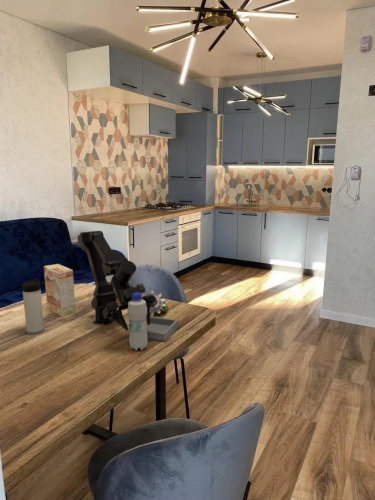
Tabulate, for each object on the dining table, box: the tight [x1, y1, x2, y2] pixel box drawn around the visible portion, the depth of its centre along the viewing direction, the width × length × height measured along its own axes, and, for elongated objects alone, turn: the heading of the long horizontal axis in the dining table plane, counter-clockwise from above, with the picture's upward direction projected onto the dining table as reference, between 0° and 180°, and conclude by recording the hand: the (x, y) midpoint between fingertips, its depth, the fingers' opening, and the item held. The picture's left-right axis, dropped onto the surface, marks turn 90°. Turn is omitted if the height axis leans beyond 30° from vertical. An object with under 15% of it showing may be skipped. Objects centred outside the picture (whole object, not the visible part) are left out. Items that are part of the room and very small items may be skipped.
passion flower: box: [142, 289, 169, 317], centre depth 164 cm, size 11×11×12 cm
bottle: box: [127, 292, 149, 351], centre depth 130 cm, size 7×7×20 cm
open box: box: [146, 316, 180, 343], centre depth 144 cm, size 14×14×3 cm
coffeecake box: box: [43, 263, 77, 317], centre depth 166 cm, size 15×7×20 cm, turn 42°
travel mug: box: [21, 278, 45, 335], centre depth 144 cm, size 6×7×20 cm
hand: (138, 327), depth 130 cm, fingers open, 8 cm apart
